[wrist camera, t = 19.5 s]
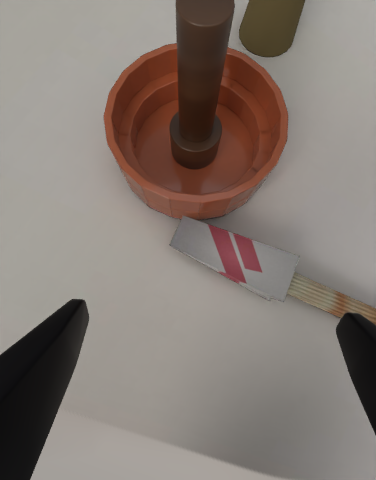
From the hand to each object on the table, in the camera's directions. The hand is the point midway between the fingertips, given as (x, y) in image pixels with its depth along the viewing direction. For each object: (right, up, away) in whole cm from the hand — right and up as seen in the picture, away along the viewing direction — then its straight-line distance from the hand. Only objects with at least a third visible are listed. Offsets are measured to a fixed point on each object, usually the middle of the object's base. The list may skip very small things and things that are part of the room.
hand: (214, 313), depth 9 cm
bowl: (0, +11, +15) cm, 19 cm away
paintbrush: (+7, -1, +13) cm, 15 cm away
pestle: (0, +11, +15) cm, 18 cm away
